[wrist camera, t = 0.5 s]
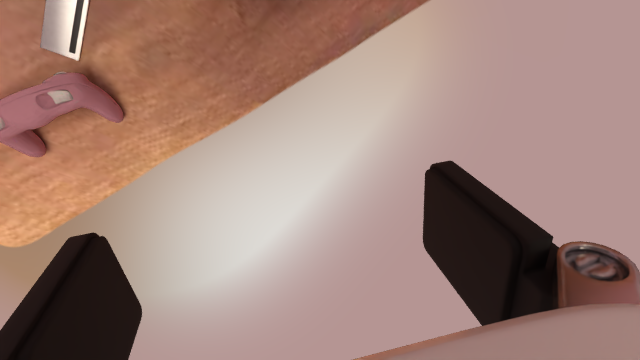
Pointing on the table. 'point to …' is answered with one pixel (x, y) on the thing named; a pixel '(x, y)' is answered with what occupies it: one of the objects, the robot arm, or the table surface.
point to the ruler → (64, 27)
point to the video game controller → (50, 109)
